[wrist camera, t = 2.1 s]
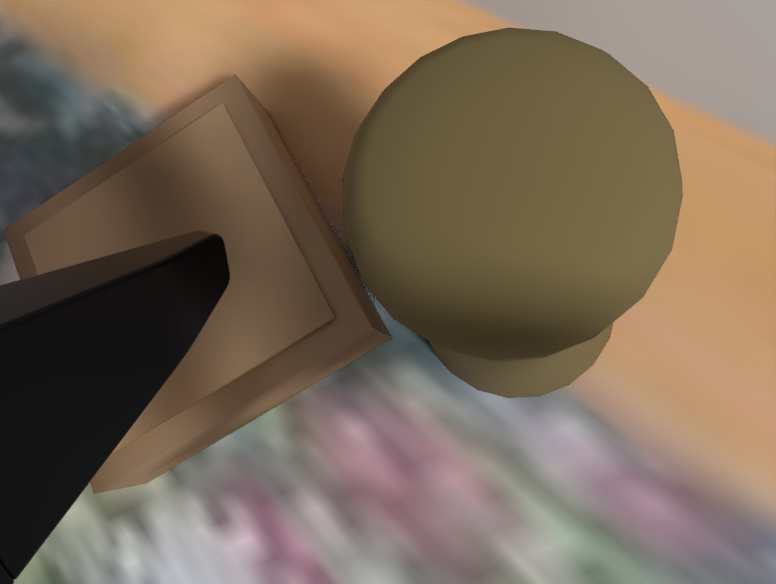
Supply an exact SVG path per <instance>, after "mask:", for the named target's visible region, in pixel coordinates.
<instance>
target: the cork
mask: <svg viewBox="0 0 776 584" xmlns="http://www.w3.org/2000/svg"><path fill="white" fill-rule="evenodd" d="M342 183H343V213H344V228H345V232H346V237H347V240H348V243H349V245H350V248H351V251H352V253H353V256H354V259H355V261H356V264H357V267H358V269H359V272H360V275H361V277H362V280H363V282H364V283H365V284H366V286H367V287H368V288H369V289H370V290H371V292H372V293H373V294H374V295H375V297H376V298H377V299H378V300H379V301H380V303H381V304H382V305H383V306H384V308H385V309H386V310H387V311H388V312H389V314H390V315H391V316H392V317H393V319H395V320H396V321H398V322H400V323H401V324H403V325H404V326H406V327H408V328H409V329H411V330H412V331H414V332H416V333H417V334H419V335H420V336H422V337H424V338H425V339H427V340H428V341H430V344H431V346H432V349H433V351H434V352H435V353H436V355H437V356H438V357H439V358H440V359H441V361H442V362H443V363H444V364H445V365H446V367H447V368H448V369H449V370H450V371H451V373H452V374H454V375H455V376H457V377H458V378H460V379H462V380H463V381H465V382H466V383H468V384H469V385H471V386H473V387H474V388H476V389H477V390H480V391H484V392H488V393H492V394H496V395H499V396H503V397H507V398H513V397H532V396H541V395H544V394H546V393H549V392H551V391H554V390H557V389H559V388H562V387H564V386H567V385H569V384H571V383H572V382H573V381H574V380H575V379H577V378H578V377H579V376H580V375H581V374H583V373H584V372H585V371H586V370H587V369H589V368H590V367H591V366H592V365H594V363H595V361H596V360H597V358H598V356H599V355H600V353H601V351H602V350H603V348H604V347H605V345H606V343H607V342H608V340H609V338H610V335H611V330H612V325H613V322H614V321H615V320H616V319H617V318H619V317H620V316H621V315H622V314H623V313H625V312H626V311H627V310H628V309H629V308H631V307H632V306H633V305H634V304H635V303H637V302H638V301H639V300H640V299H641V298H643V296H644V295H645V293H646V291H647V290H648V288H649V287H650V285H651V283H652V282H653V280H654V278H655V277H656V275H657V273H658V272H659V270H660V268H661V267H662V265H663V263H664V262H665V260H666V258H667V257H668V255H669V253H670V252H671V250H672V247H673V242H674V237H675V232H676V227H677V222H678V217H679V211H680V206H681V201H682V178H681V172H680V166H679V160H678V154H677V148H676V142H675V136H674V131H673V129H672V127H671V126H670V124H669V122H668V120H667V119H666V117H665V115H664V114H663V112H662V110H661V108H660V107H659V105H658V103H657V102H656V100H655V98H654V96H653V95H652V93H651V91H650V90H649V88H648V86H646V85H645V84H644V83H643V82H642V81H640V80H639V79H638V78H637V77H636V76H634V75H633V74H632V73H631V72H630V71H628V70H627V69H626V68H625V67H624V66H623V65H621V64H620V63H619V62H618V61H617V60H615V59H614V58H613V57H612V56H611V55H609V54H608V53H606V52H604V51H603V50H601V49H598V48H596V47H593V46H591V45H588V44H586V43H583V42H581V41H578V40H576V39H573V38H571V37H568V36H566V35H563V34H561V33H558V32H553V31H542V30H530V29H518V28H505V29H500V30H495V31H489V32H484V33H479V34H474V35H469V36H464V37H461V38H459V39H457V40H455V41H453V42H451V43H449V44H447V45H445V46H443V47H440V48H438V49H436V50H434V51H432V52H430V53H428V54H426V55H424V56H422V57H420V58H419V59H418V60H417V61H416V62H415V63H413V64H412V65H411V66H410V67H409V68H408V69H407V70H406V71H404V72H403V73H402V74H401V75H400V76H399V77H398V78H397V79H395V80H394V81H393V82H392V83H391V84H390V85H389V86H388V87H386V88H385V90H384V91H383V92H382V93H381V95H380V96H379V98H378V99H377V101H376V102H375V104H374V106H373V107H372V109H371V110H370V112H369V113H368V115H367V116H366V118H365V120H364V121H363V123H362V124H361V126H360V127H359V129H358V131H357V132H356V134H355V136H354V140H353V143H352V147H351V150H350V154H349V157H348V161H347V165H346V168H345V172H344V175H343V179H342Z"/></svg>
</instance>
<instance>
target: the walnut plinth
mask: <svg viewBox="0 0 776 584" xmlns="http://www.w3.org/2000/svg"><path fill="white" fill-rule="evenodd" d="M195 230H203V231H208V232H212V233H217V234H219V235H220V236H221V237H222V238H223V240H224V243H225V249H226V254H227V260H228V265H229V271H230V280H229V284H228V286H227V289H226V290H225V292H224V293H223V295H222V297H221V298H220V300H219V302H218V303H217V305H216V307H215V308H214V310H213V312H212V313H211V315H210V317H209V318H208V320H207V322H206V323H205V325H204V327H203V328H202V330H201V332H200V333H199V335H198V337H197V338H196V340H195V342H194V343H193V345H192V346H191V348H190V349H189V351H188V353H187V354H186V355H185V357H184V358H183V360H182V361H181V362H180V364H179V365H178V366H177V368H176V369H175V370H174V372H173V373H172V374H171V376H170V377H169V378H168V380H167V381H166V382H165V383H164V385H163V386H162V387H161V389H160V390H159V391H158V393H157V394H156V395H155V397H154V398H153V399H152V401H151V402H150V403H149V405H148V406H147V407H146V409H145V410H144V411H143V413H142V414H141V415H140V416H139V418H138V419H137V420H136V422H135V423H134V424H133V426H132V427H131V428H130V430H129V431H128V432H127V434H126V435H125V436H124V438H123V439H122V440H121V442H120V443H119V444H118V445H117V447H116V448H115V449H114V451H113V452H112V453H111V455H110V456H109V457H108V459H107V460H106V461H105V463H104V464H103V465H102V467H101V468H100V469H99V471H98V472H97V473H96V475H95V476H94V477H93V478H92V480H91V481H90V483H91V486H92V489H93V492H94V494H95V493H100V492H105V491H110V490H115V489H120V488H125V487H130V486H135V485H141V484H146V483H148V482H149V481H151V480H153V479H154V478H156V477H158V476H160V475H161V474H163V473H165V472H166V471H168V470H170V469H171V468H173V467H175V466H176V465H178V464H180V463H181V462H183V461H185V460H187V459H188V458H190V457H192V456H193V455H195V454H197V453H198V452H200V451H202V450H203V449H205V448H207V447H208V446H210V445H212V444H214V443H215V442H217V441H219V440H220V439H222V438H224V437H225V436H227V435H229V434H230V433H232V432H234V431H235V430H237V429H239V428H241V427H242V426H244V425H246V424H247V423H249V422H251V421H252V420H254V419H256V418H257V417H259V416H261V415H262V414H264V413H266V412H268V411H269V410H271V409H273V408H274V407H276V406H278V405H279V404H281V403H283V402H284V401H286V400H288V399H289V398H291V397H293V396H295V395H296V394H298V393H300V392H301V391H303V390H305V389H306V388H308V387H310V386H311V385H313V384H315V383H316V382H318V381H320V380H322V379H323V378H325V377H327V376H328V375H330V374H332V373H333V372H335V371H337V370H338V369H340V368H342V367H344V366H345V365H347V364H349V363H350V362H352V361H354V360H355V359H357V358H359V357H360V356H362V355H364V354H365V353H367V352H369V351H371V350H372V349H374V348H376V347H377V346H379V345H381V344H382V343H384V342H386V341H387V340H389V339H391V338H392V337H391V335H390V334H389V332H388V330H387V328H386V326H385V324H384V323H383V321H382V319H381V317H380V315H379V314H378V312H377V310H376V308H375V306H374V304H373V303H372V301H371V299H370V297H369V295H368V294H367V292H366V290H365V288H364V286H363V284H362V283H361V281H360V279H359V277H358V275H357V273H356V272H355V270H354V268H353V266H352V264H351V263H350V261H349V259H348V257H347V255H346V253H345V252H344V250H343V248H342V246H341V244H340V242H339V241H338V239H337V237H336V235H335V233H334V232H333V230H332V228H331V226H330V224H329V222H328V221H327V219H326V217H325V215H324V213H323V211H322V210H321V208H320V206H319V204H318V202H317V201H316V199H315V197H314V195H313V193H312V191H311V190H310V188H309V186H308V184H307V182H306V180H305V179H304V177H303V175H302V173H301V171H300V170H299V168H298V166H297V164H296V162H295V160H294V159H293V157H292V155H291V153H290V151H289V149H288V148H287V146H286V144H285V142H284V140H283V139H282V137H281V135H280V133H279V131H278V129H277V128H276V126H275V124H274V122H273V120H272V118H271V117H270V115H269V113H268V111H267V110H266V109H265V108H264V107H263V105H262V104H261V103H260V102H259V101H258V100H257V99H256V97H255V96H254V95H253V94H252V93H251V92H250V91H249V90H248V88H247V87H246V86H245V85H244V84H243V83H242V82H241V80H240V79H239V78H238V77H237V76H236V75H234V76H232V77H231V78H229V79H228V80H226V81H225V82H223V83H222V84H220V85H219V86H217V87H216V88H214V89H213V90H211V91H210V92H208V93H207V94H205V95H204V96H202V97H201V98H199V99H198V100H196V101H195V102H193V103H192V104H190V105H189V106H187V107H186V108H184V109H183V110H181V111H180V112H178V113H177V114H175V115H174V116H172V117H171V118H170V119H168V120H167V121H165V122H164V123H162V124H161V125H159V126H158V127H156V128H155V129H153V130H152V131H150V132H149V133H147V134H146V135H144V136H143V137H141V138H140V139H138V140H137V141H135V142H134V143H132V144H131V145H129V146H128V147H126V148H125V149H123V150H122V151H120V152H119V153H117V154H116V155H114V156H113V157H111V158H110V159H108V160H107V161H105V162H104V163H103V164H101V165H100V166H98V167H97V168H95V169H94V170H92V171H91V172H89V173H88V174H86V175H85V176H83V177H82V178H80V179H79V180H77V181H76V182H74V183H73V184H71V185H70V186H68V187H67V188H65V189H64V190H62V191H61V192H59V193H58V194H56V195H55V196H53V197H52V198H50V199H49V200H47V201H46V202H44V203H43V204H41V205H40V206H38V207H37V208H35V209H34V210H33V211H31V212H30V213H28V214H27V215H25V216H24V217H22V218H21V219H19V220H18V221H16V222H15V223H13V224H12V225H10V226H9V227H7V228H6V229H4V233H5V236H6V239H7V242H8V245H9V248H10V251H11V254H12V257H13V260H14V262H15V265H16V268H17V271H18V274H19V277H20V280H22V279H25V278H29V277H33V276H36V275H40V274H43V273H47V272H50V271H54V270H57V269H61V268H64V267H68V266H72V265H75V264H79V263H82V262H86V261H89V260H93V259H96V258H100V257H103V256H107V255H110V254H114V253H118V252H121V251H125V250H128V249H132V248H135V247H139V246H142V245H146V244H149V243H153V242H157V241H160V240H164V239H167V238H171V237H174V236H178V235H181V234H185V233H188V232H192V231H195Z"/></svg>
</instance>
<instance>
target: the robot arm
mask: <svg viewBox="0 0 776 584" xmlns="http://www.w3.org/2000/svg"><path fill="white" fill-rule="evenodd" d="M229 280H230V271H229V265H228V260H227V254H226V249H225V243H224V240H223V238H222V237H221V236H220V235H219V234H217V233H212V232H208V231H203V230H195V231H192V232H188V233H185V234H181V235H178V236H174V237H171V238H167V239H164V240H160V241H157V242H153V243H149V244H146V245H142V246H139V247H135V248H132V249H128V250H125V251H121V252H118V253H114V254H110V255H107V256H103V257H100V258H96V259H93V260H89V261H86V262H82V263H79V264H75V265H72V266H68V267H64V268H61V269H57V270H54V271H50V272H47V273H43V274H40V275H36V276H33V277H29V278H25V279H22V280H18V281H15V282H11V283H8V284H4V285H1V286H0V584H13V583H14V580H13V579H16V578H17V577H18V576H19V575H20V573H21V572H22V571H23V570H24V568H25V567H26V566H27V564H28V563H29V562H30V560H31V559H32V558H33V556H34V555H35V554H36V552H37V551H38V550H39V548H40V547H41V546H42V544H43V543H44V542H45V540H46V539H47V538H48V537H49V535H50V534H51V533H52V531H53V530H54V529H55V527H56V526H57V525H58V523H59V522H60V521H61V519H62V518H63V517H64V515H65V514H66V513H67V511H68V510H69V509H70V507H71V506H72V505H73V504H74V502H75V501H76V500H77V498H78V497H79V496H80V494H81V493H82V492H83V490H84V489H85V488H86V486H87V485H88V484H89V482H90V481H91V480H92V478H93V477H94V476H95V475H96V473H97V472H98V471H99V469H100V468H101V467H102V465H103V464H104V463H105V461H106V460H107V459H108V457H109V456H110V455H111V453H112V452H113V451H114V449H115V448H116V447H117V445H118V444H119V443H120V442H121V440H122V439H123V438H124V436H125V435H126V434H127V432H128V431H129V430H130V428H131V427H132V426H133V424H134V423H135V422H136V420H137V419H138V418H139V416H140V415H141V414H142V413H143V411H144V410H145V409H146V407H147V406H148V405H149V403H150V402H151V401H152V399H153V398H154V397H155V395H156V394H157V393H158V391H159V390H160V389H161V387H162V386H163V385H164V383H165V382H166V381H167V380H168V378H169V377H170V376H171V374H172V373H173V372H174V370H175V369H176V368H177V366H178V365H179V364H180V362H181V361H182V360H183V358H184V357H185V355H186V354H187V353H188V351H189V349H190V348H191V346H192V345H193V343H194V342H195V340H196V338H197V337H198V335H199V333H200V332H201V330H202V328H203V327H204V325H205V323H206V322H207V320H208V318H209V317H210V315H211V313H212V312H213V310H214V308H215V307H216V305H217V303H218V302H219V300H220V298H221V297H222V295H223V293H224V292H225V290H226V289H227V286H228V284H229Z"/></svg>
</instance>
